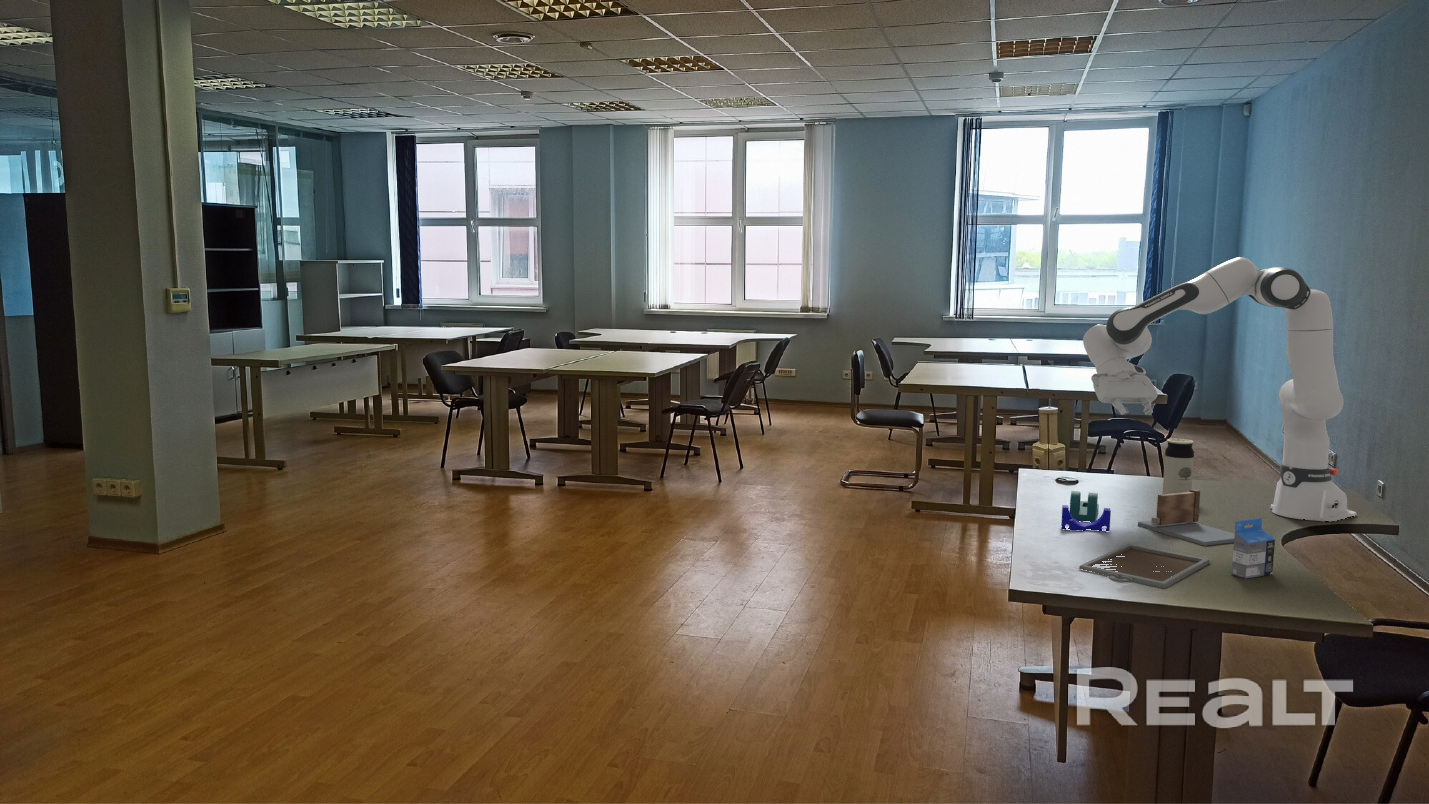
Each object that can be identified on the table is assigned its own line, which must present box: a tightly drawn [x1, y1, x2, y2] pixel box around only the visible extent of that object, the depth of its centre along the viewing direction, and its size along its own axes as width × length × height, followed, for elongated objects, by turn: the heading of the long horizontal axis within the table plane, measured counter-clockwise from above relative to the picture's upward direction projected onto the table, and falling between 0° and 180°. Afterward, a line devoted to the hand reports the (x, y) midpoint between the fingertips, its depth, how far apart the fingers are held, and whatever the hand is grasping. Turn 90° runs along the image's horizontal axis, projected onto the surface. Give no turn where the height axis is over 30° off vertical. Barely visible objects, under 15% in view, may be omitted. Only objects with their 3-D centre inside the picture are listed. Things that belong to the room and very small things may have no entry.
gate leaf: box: [1150, 488, 1201, 526], centre depth 261 cm, size 15×2×8 cm, turn 111°
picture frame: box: [1078, 543, 1211, 589], centre depth 226 cm, size 19×2×30 cm
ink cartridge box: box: [1230, 518, 1276, 580], centre depth 220 cm, size 9×4×12 cm, turn 114°
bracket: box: [1069, 490, 1099, 522], centre depth 276 cm, size 18×7×8 cm, turn 156°
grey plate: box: [1137, 520, 1235, 547], centre depth 257 cm, size 14×22×1 cm, turn 21°
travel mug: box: [1162, 438, 1195, 494], centre depth 297 cm, size 8×8×18 cm
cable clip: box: [1060, 504, 1112, 532], centre depth 260 cm, size 12×4×6 cm, turn 72°
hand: (1137, 413), depth 277 cm, fingers open, 8 cm apart
